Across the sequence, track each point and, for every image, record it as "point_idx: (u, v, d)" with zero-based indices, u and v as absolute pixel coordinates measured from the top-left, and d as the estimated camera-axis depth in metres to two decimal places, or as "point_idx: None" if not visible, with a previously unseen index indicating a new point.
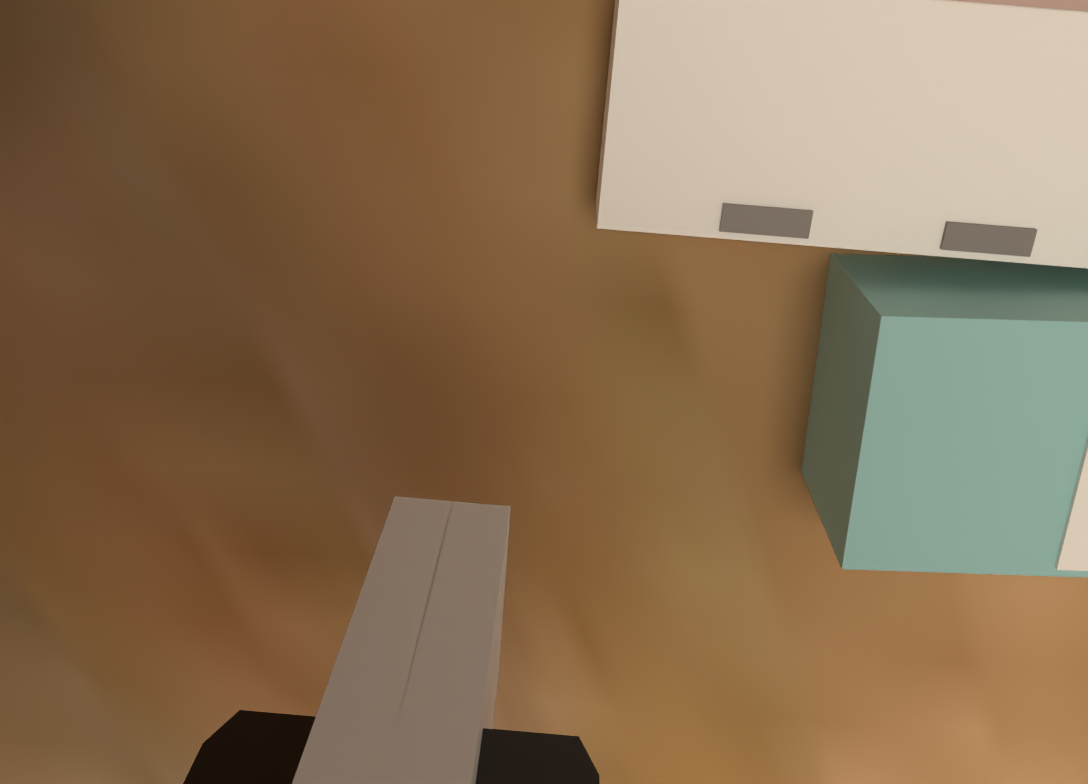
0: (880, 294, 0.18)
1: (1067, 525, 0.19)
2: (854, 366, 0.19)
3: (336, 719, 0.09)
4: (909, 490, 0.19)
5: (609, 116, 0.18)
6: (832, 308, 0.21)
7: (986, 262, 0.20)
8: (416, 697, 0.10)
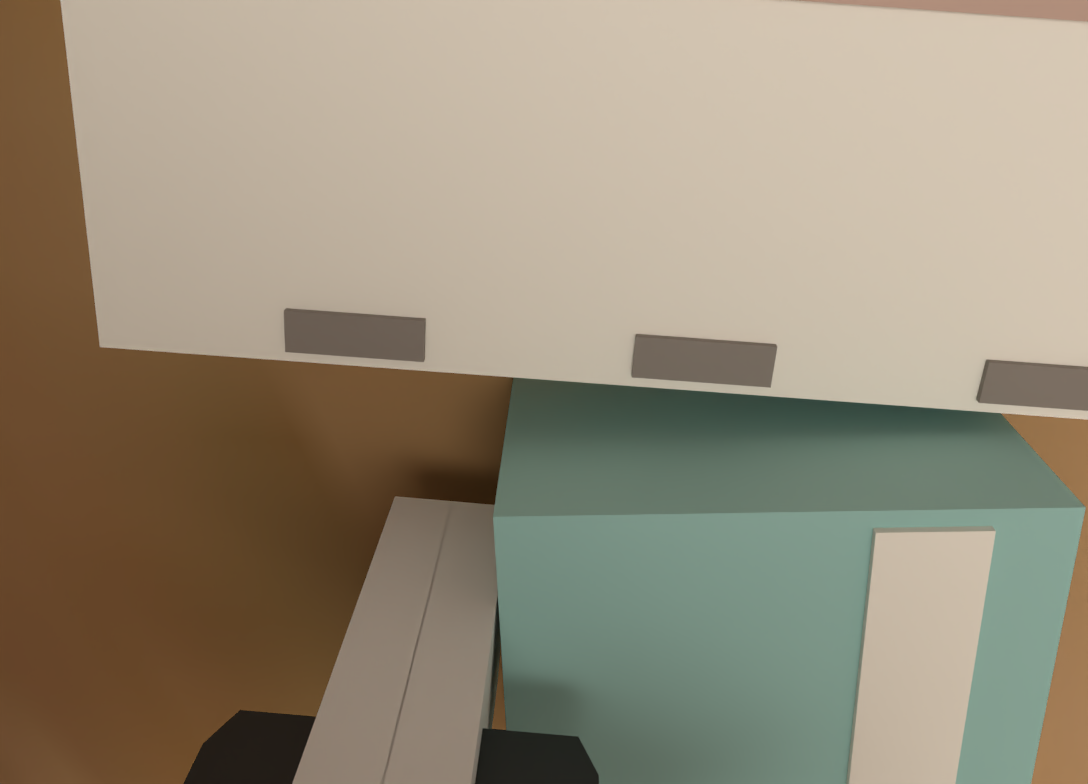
0: (528, 461, 0.12)
1: None
2: None
3: (336, 719, 0.09)
4: (594, 763, 0.12)
5: (82, 177, 0.11)
6: None
7: None
8: (416, 697, 0.10)
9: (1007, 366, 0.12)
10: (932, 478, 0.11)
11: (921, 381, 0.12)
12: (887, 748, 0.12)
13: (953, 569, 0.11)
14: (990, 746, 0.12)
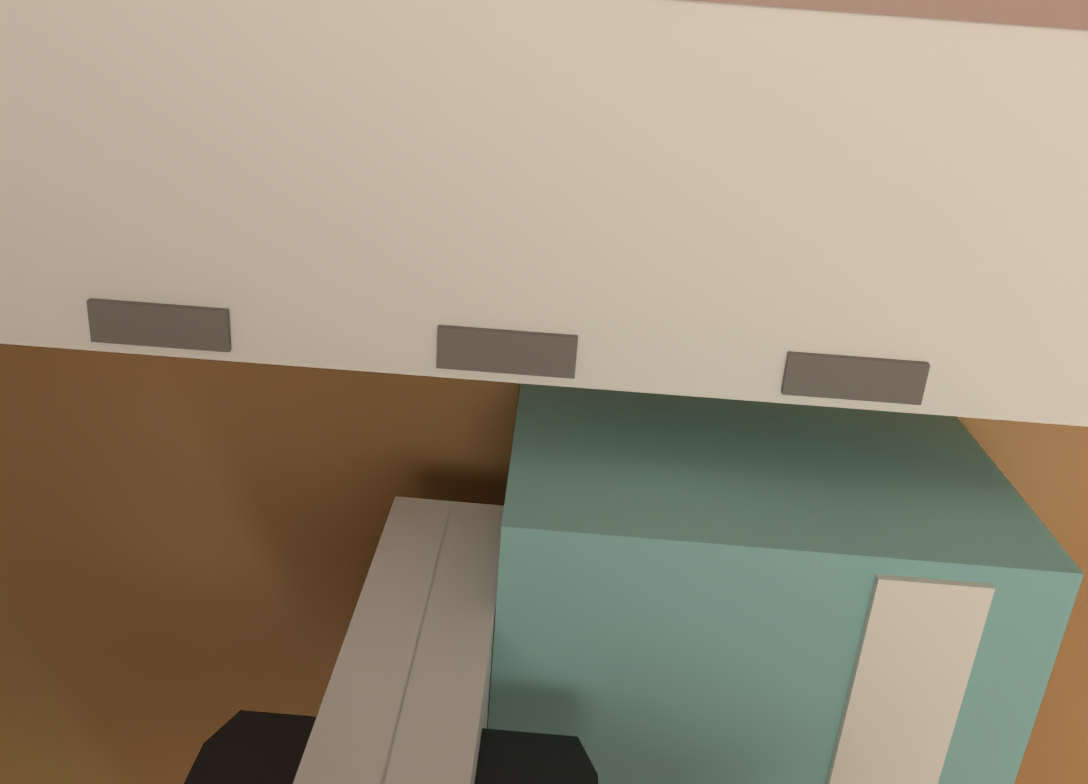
0: (536, 472, 0.12)
1: None
2: None
3: (337, 719, 0.09)
4: None
5: None
6: None
7: (742, 410, 0.14)
8: (415, 697, 0.10)
9: (455, 331, 0.12)
10: (935, 530, 0.11)
11: (379, 346, 0.12)
12: None
13: (949, 622, 0.11)
14: None
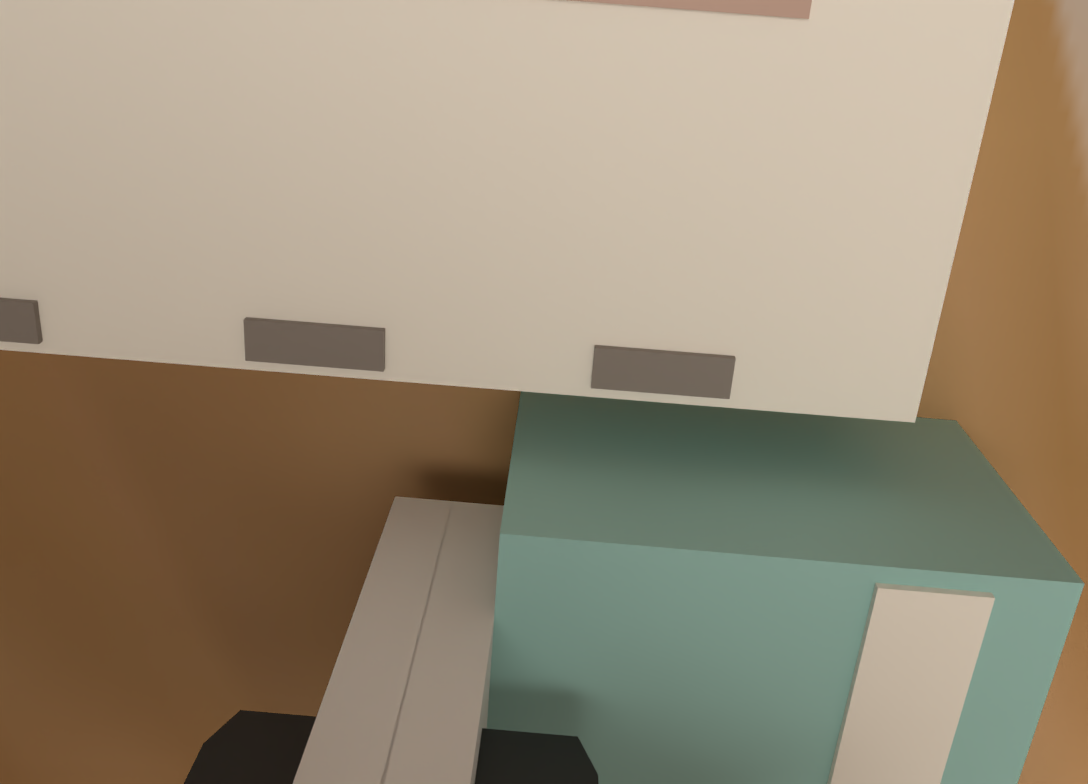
0: (535, 479, 0.12)
1: None
2: None
3: (337, 719, 0.09)
4: None
5: None
6: None
7: (743, 416, 0.14)
8: (415, 697, 0.10)
9: None
10: (935, 538, 0.11)
11: None
12: None
13: (949, 631, 0.11)
14: None
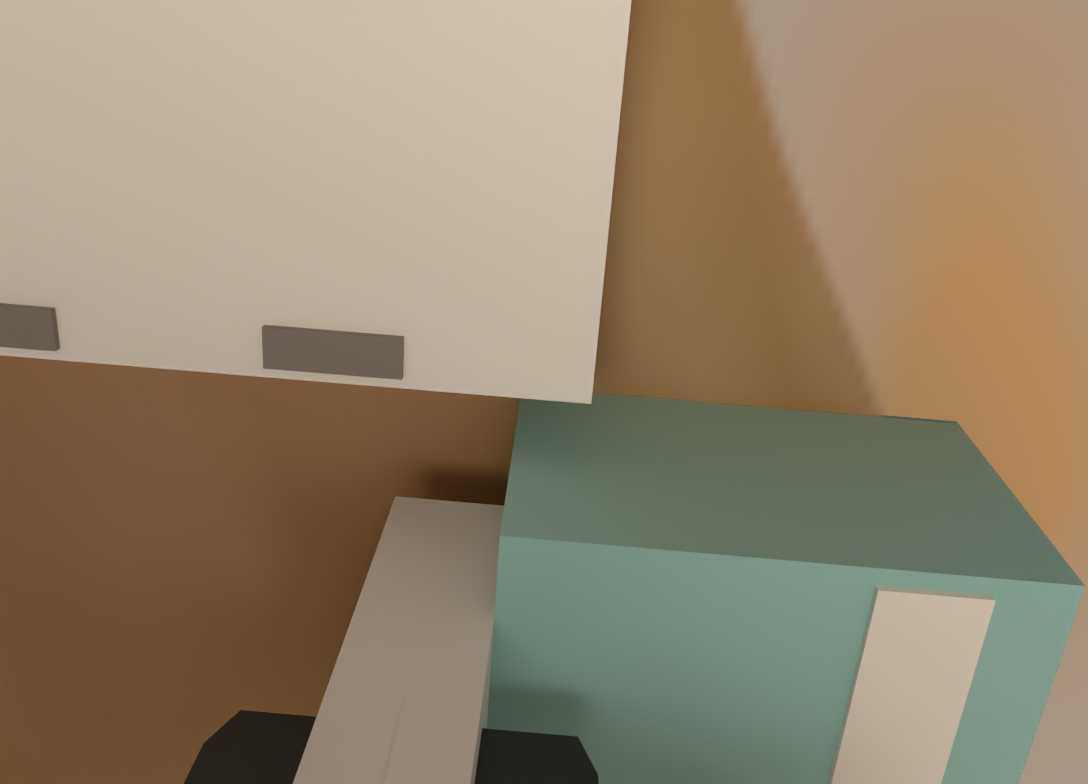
0: (536, 481, 0.12)
1: None
2: None
3: (336, 719, 0.09)
4: None
5: None
6: None
7: (744, 418, 0.14)
8: (415, 697, 0.10)
9: None
10: (936, 540, 0.11)
11: None
12: None
13: (949, 633, 0.11)
14: None
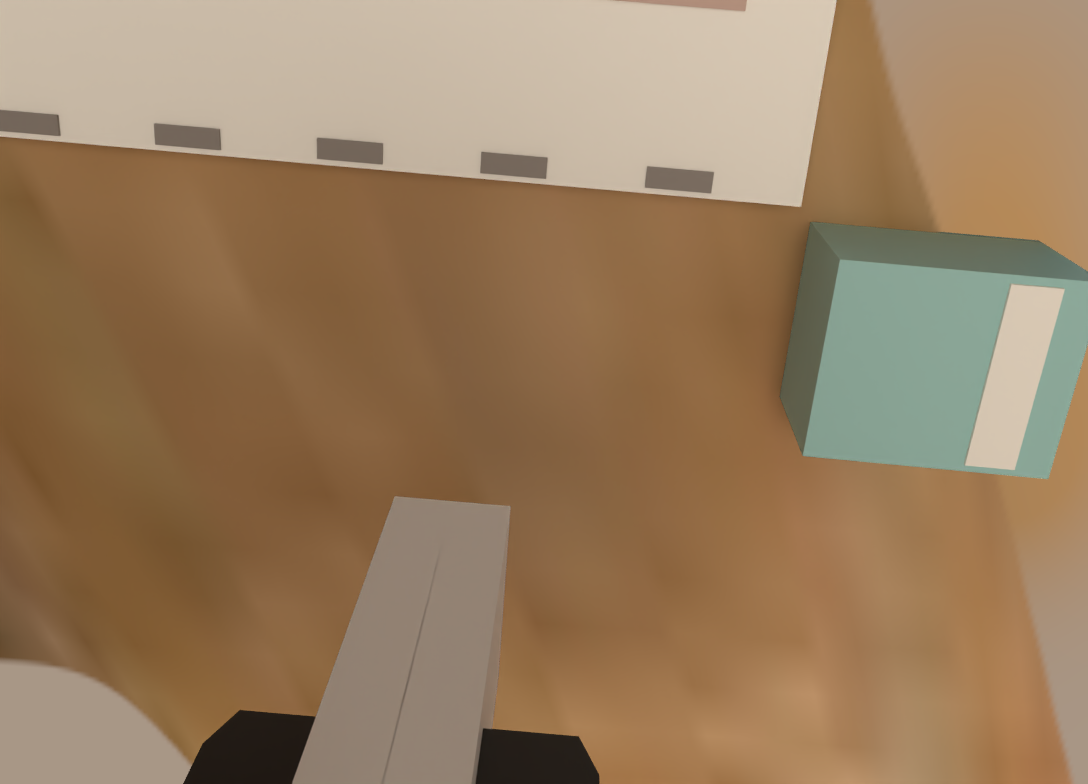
0: (842, 247, 0.25)
1: (974, 431, 0.25)
2: (820, 301, 0.25)
3: (336, 719, 0.09)
4: (856, 395, 0.25)
5: None
6: (809, 262, 0.27)
7: (929, 234, 0.27)
8: (416, 697, 0.10)
9: (325, 139, 0.25)
10: (1035, 269, 0.24)
11: (290, 148, 0.25)
12: (998, 399, 0.24)
13: (1043, 306, 0.24)
14: (1046, 405, 0.25)
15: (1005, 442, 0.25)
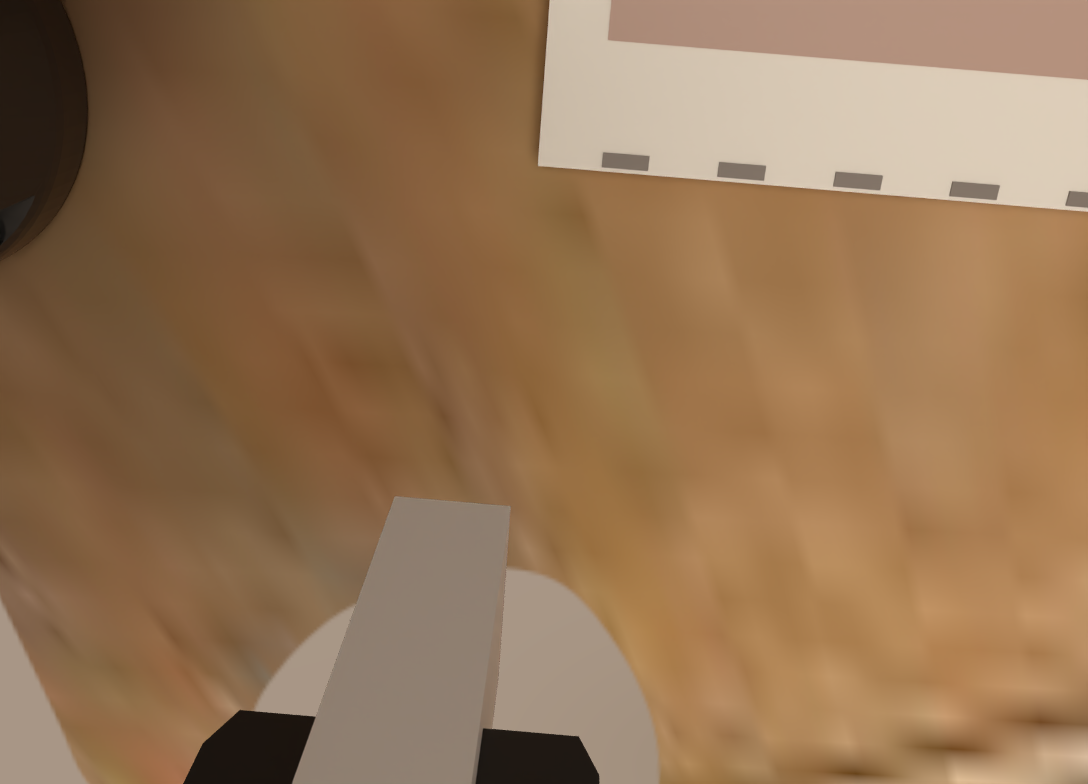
0: None
1: None
2: None
3: (336, 719, 0.09)
4: None
5: (542, 106, 0.35)
6: None
7: None
8: (416, 697, 0.10)
9: (842, 173, 0.35)
10: None
11: (814, 179, 0.35)
12: None
13: None
14: None
15: None
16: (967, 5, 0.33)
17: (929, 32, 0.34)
